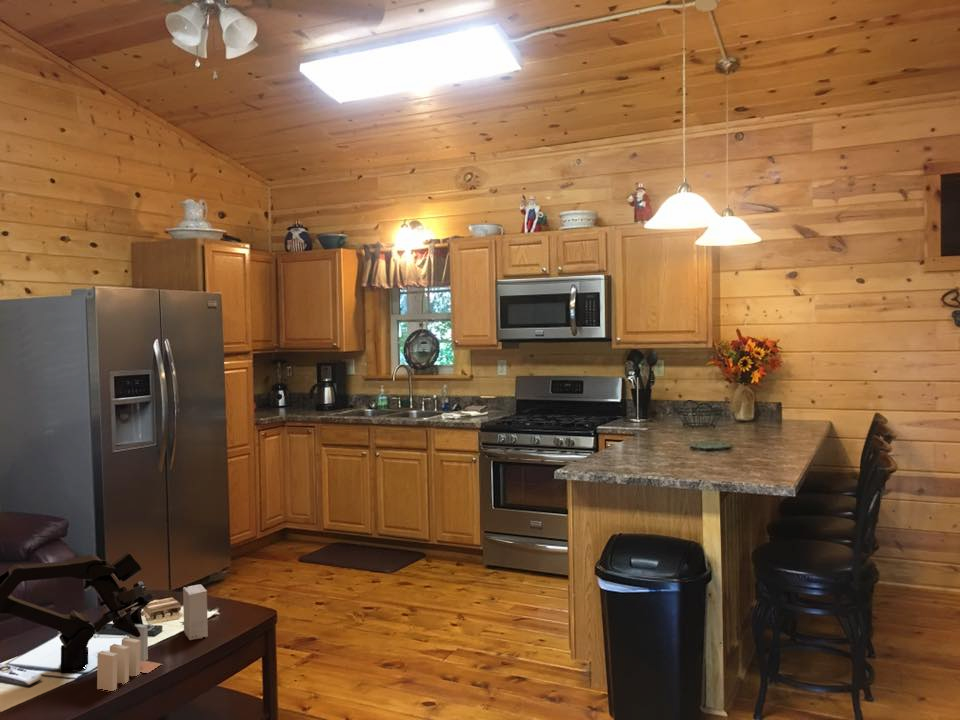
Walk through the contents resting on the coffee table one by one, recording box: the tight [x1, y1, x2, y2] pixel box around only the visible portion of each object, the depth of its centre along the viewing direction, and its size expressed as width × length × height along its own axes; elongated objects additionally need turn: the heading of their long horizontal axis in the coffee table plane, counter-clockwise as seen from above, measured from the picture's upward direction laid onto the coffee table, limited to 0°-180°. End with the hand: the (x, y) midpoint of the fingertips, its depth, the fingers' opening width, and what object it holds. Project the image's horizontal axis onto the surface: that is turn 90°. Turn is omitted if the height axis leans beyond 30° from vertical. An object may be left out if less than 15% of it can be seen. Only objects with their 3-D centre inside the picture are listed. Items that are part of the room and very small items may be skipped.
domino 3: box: [128, 624, 149, 662], centre depth 218 cm, size 2×5×10 cm, turn 75°
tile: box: [140, 660, 163, 674], centre depth 218 cm, size 9×6×1 cm, turn 74°
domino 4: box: [121, 637, 141, 677], centre depth 214 cm, size 2×5×10 cm, turn 74°
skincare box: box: [182, 584, 209, 641], centre depth 241 cm, size 8×6×15 cm
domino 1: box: [96, 650, 118, 692], centre depth 205 cm, size 2×5×10 cm, turn 74°
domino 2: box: [109, 643, 130, 685], centre depth 209 cm, size 2×5×10 cm, turn 74°
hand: (141, 635), depth 218 cm, fingers closed on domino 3, 2 cm apart
